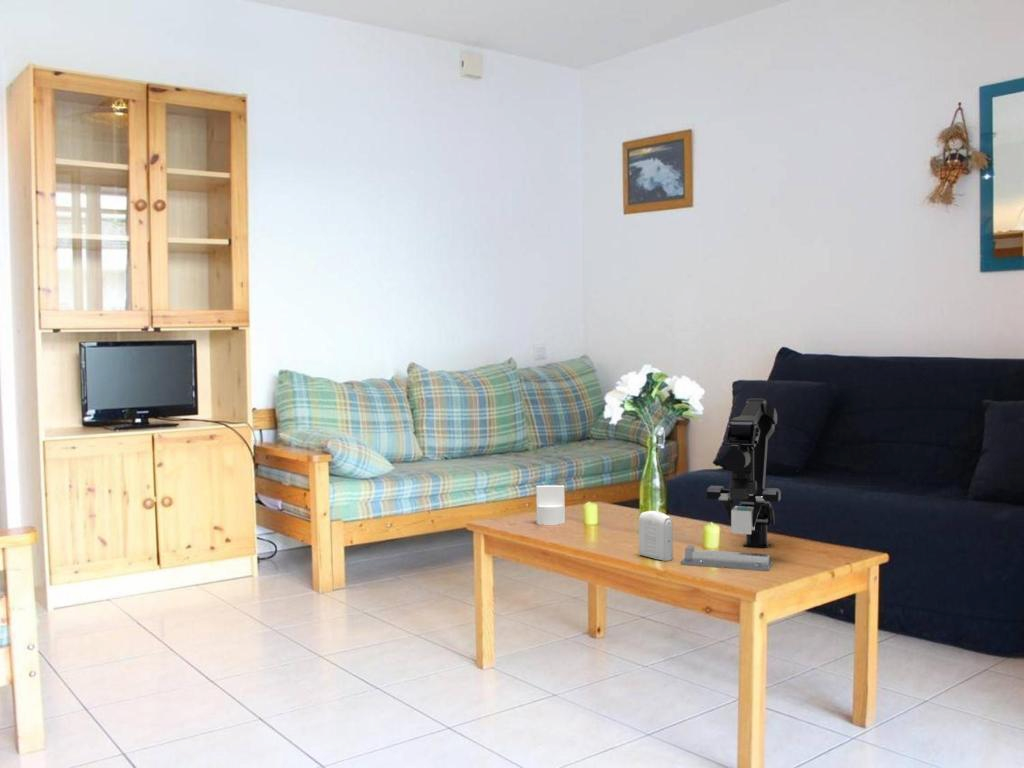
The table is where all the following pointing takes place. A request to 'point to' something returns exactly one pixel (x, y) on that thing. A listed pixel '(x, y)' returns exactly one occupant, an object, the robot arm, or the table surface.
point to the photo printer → (656, 535)
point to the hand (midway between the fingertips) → (743, 526)
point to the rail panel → (729, 565)
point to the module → (742, 520)
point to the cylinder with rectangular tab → (550, 504)
